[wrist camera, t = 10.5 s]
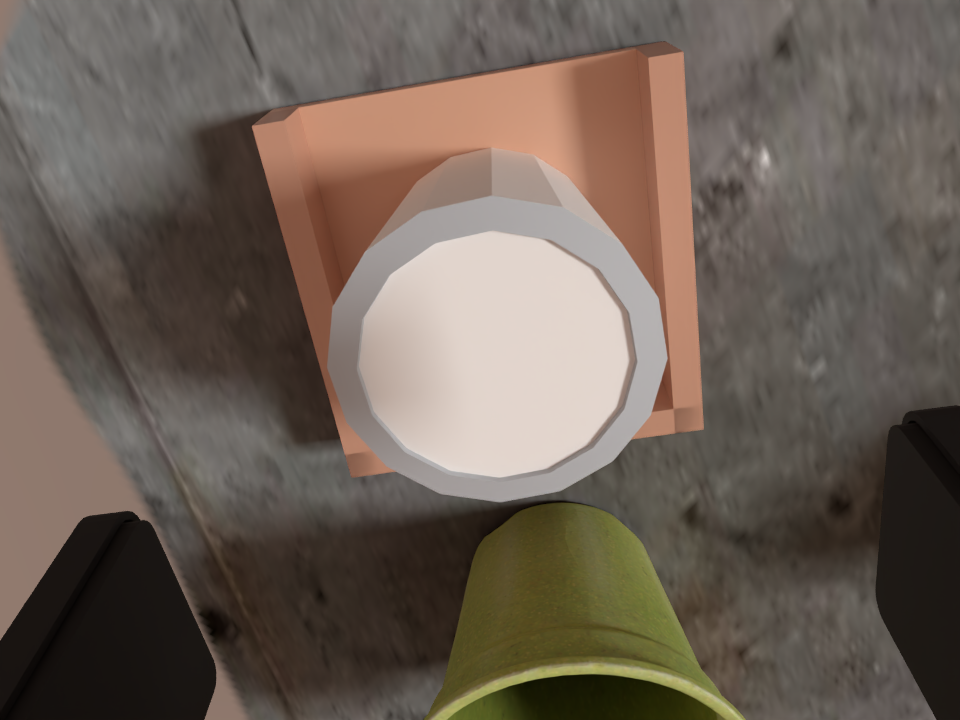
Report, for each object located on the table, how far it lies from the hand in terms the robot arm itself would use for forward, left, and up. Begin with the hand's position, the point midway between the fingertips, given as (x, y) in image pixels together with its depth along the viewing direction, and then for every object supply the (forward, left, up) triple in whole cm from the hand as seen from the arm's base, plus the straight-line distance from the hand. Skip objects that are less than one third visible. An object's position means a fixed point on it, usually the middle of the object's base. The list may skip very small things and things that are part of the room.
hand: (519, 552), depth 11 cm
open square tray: (+1, 0, -14) cm, 14 cm away
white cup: (+1, 0, -14) cm, 14 cm away
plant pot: (+13, 0, -14) cm, 19 cm away
